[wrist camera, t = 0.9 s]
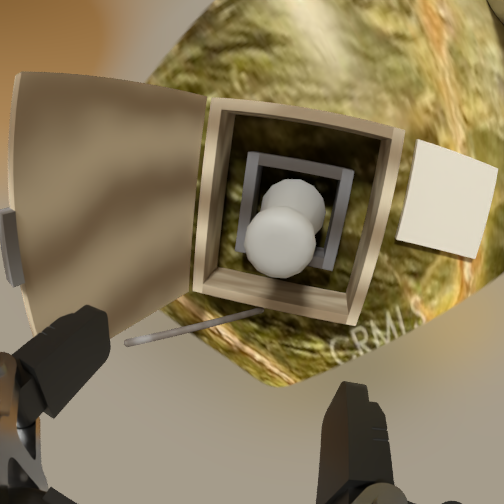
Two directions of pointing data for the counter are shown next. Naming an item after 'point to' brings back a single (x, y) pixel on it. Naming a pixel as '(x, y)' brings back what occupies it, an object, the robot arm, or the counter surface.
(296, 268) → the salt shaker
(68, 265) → the lid
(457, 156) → the tile
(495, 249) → the counter surface
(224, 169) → the case
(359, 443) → the robot arm
